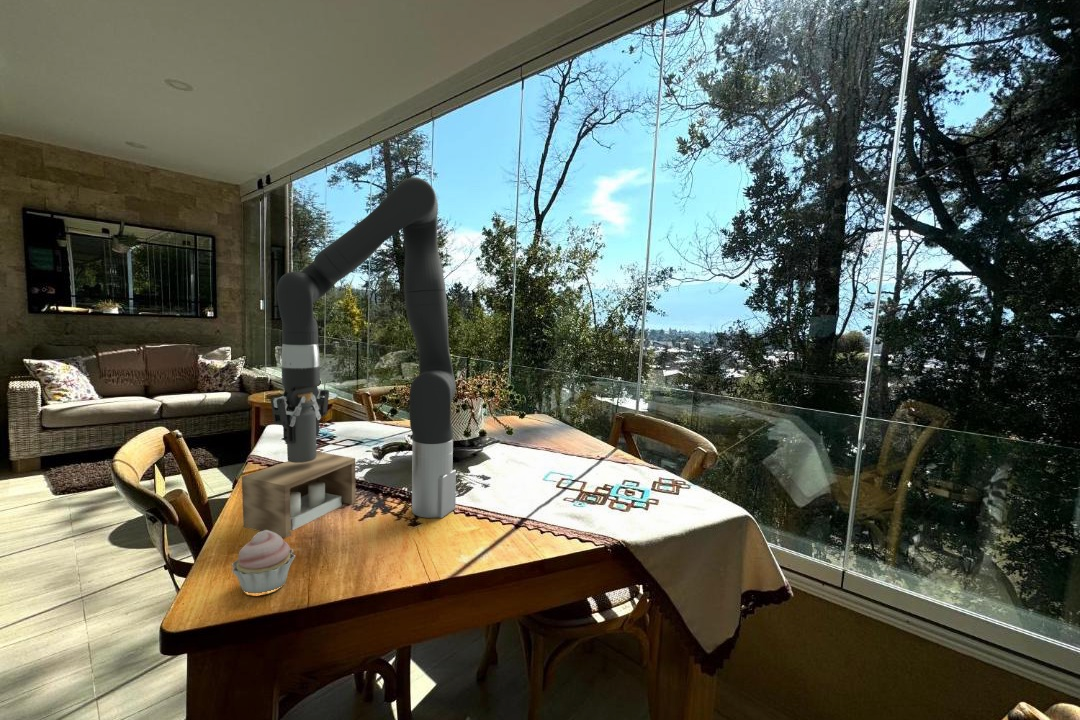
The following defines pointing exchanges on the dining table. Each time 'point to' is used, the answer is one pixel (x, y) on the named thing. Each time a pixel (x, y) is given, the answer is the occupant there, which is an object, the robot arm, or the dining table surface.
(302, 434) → the bottle
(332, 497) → the shelved tray
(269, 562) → the cupcake
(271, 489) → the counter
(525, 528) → the dining table surface
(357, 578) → the dining table surface
